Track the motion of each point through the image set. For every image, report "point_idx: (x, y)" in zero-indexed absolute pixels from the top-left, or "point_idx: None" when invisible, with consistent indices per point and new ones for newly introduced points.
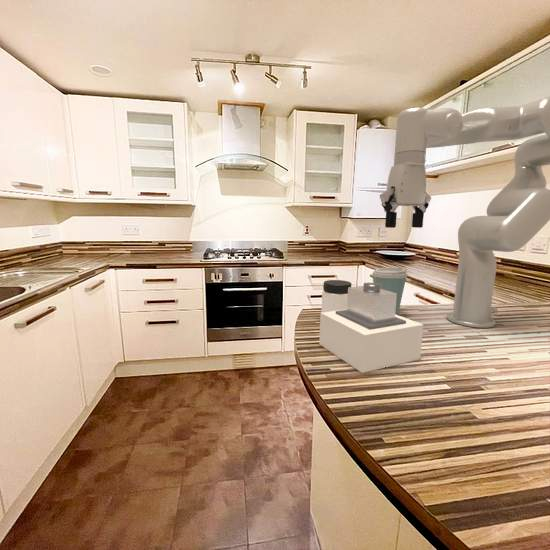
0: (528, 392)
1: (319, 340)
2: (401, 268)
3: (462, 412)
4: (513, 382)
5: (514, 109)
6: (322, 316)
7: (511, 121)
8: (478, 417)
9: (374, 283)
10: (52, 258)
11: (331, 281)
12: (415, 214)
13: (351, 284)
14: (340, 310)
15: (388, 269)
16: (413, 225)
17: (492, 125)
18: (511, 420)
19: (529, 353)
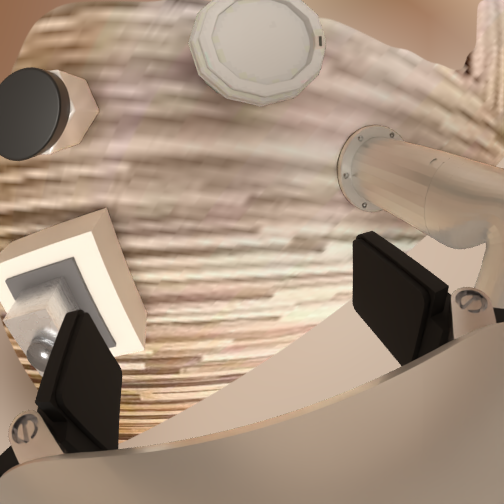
0: (221, 378)
1: (7, 245)
2: (321, 42)
3: (132, 394)
4: (224, 364)
5: None
6: None
7: None
8: (141, 399)
9: (48, 355)
10: None
11: (9, 97)
12: (413, 318)
13: (57, 128)
14: (16, 259)
15: (286, 3)
16: (358, 259)
17: None
18: (166, 403)
19: (323, 305)
